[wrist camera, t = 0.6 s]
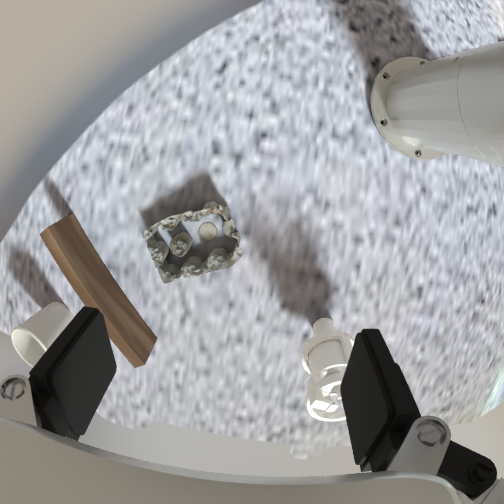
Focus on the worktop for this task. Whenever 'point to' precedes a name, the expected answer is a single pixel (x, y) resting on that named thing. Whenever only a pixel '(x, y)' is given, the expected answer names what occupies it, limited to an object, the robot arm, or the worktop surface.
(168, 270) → the egg carton
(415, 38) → the worktop surface
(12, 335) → the dixie cup
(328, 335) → the white plastic bottle
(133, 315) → the walnut board
